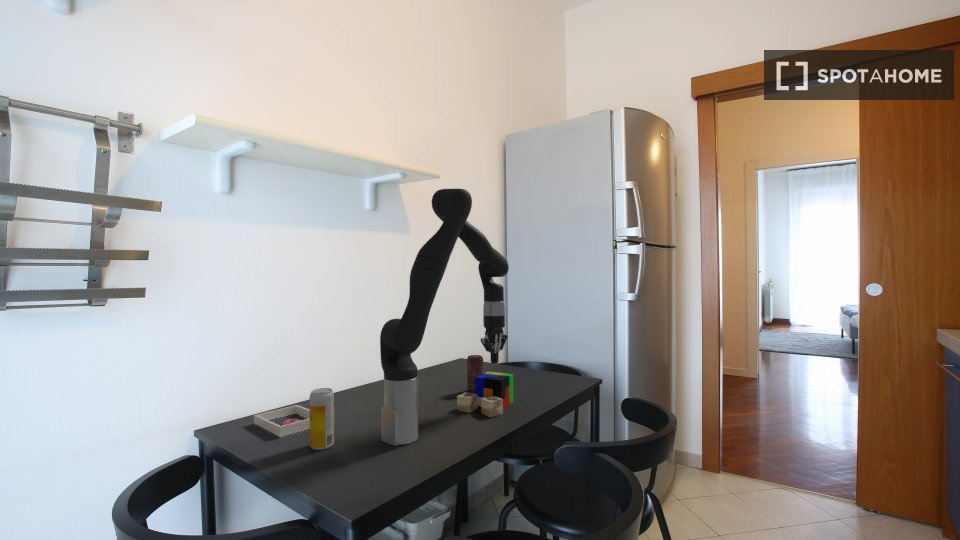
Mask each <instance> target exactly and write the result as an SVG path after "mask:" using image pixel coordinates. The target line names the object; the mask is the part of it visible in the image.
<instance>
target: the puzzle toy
mask: <svg viewBox="0 0 960 540" xmlns="http://www.w3.org/2000/svg"><path fill="white" fill-rule="evenodd" d="M475 394H477V395H478V407H481V398H485V397H490V396H495V397H498V398H501V399H503V409H505V408H506V407H508V406H509V405H511V404H513V403H514V373H508V372H507V373H504V372H495V371H485V372H483V374H481V375H479V376H477V377H475Z"/></svg>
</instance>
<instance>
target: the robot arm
mask: <svg viewBox="0 0 960 540" xmlns="http://www.w3.org/2000/svg"><path fill="white" fill-rule="evenodd" d="M472 205H473V198H472V195H471V193H470V191H469V190H468V189H465V188H441V189H437V191H435V192H434V194H433V195H432V198H431V207H432V210H433V212H434V214H435V215H436V216H437V217H438V218H439V220H440V221H442V223H441V226H440V227H439V229H438V230H437V231H436V232H435V233H434V234H433V235H432V236H431V237H430V238H429V239H428V240H427V241H426V242H425V243H424V244H423V245H422V246H421V247H420V249H419V251H418V252H417V254H416V257H415V259H414V262H413V264H412V266H411V269H410V273H409V297H408V299H407V300H408V301H407V304H406V306H405V309H404V312H403V314H402V316H401V318H391V319H390V320H388V321H386V322H385V324H383V326H382V329H381V330H380V335H379V348H380V352H379V353H380V365H381V368H382V371H383V405H382V406H381V407H380V428H381V429H380V434H381V435H380V439H381V442H384V443H386V444H388V445H391V446H393V447H397V446H400V445H408V444H411V443H414V442H416V441H417V440H418V439H419V435H418V434H419V416H418V415H419V410H418V409H419V408H418V407H419V405H418V404H419V403H418V402H419V401H418V396H419V395H418V393H419V392H418V390H419V388H418V387H419V385H418V384H419V383H418V381H419V380H418V378H419V377H418V376H419V375H418V372H419V371H418V367H417V365H416V363H415V362H414V361H413V358H412V355H411V354H413V353H414V352H416V351H417V349H418V348H419V347H420V345H421V344H422V341H423V339H424V335H425V331H426V327H427V324H428V319H429V316H430V312H431V309H432V306H433V304H434V301H435V298H436V297H437V292H438V290H439V286H440V284H441V283H442V280H443V277H444V274H445V272H446V269H447V266H448V263H449V261H450V258H451V255H452V253H453V250H454V248H455V245H456V243H457V240H458V239H460V240H461V242H462V243H463V244H464V246H465V247H466V248H467V249H468V251H469V252H470V253H471V255H472V256H473V257H474V259H475V261H477V262H479V263H478V267H477V269H478V273H479V278H480V281H481V284H482V288H483V305H482V306H483V307H482V309H483V312H482V313H483V317H482V318H483V327H484V328H485V332H484V337H481V338H480V343H481V344H482V346H483V348H484V350H485V351H486V352H489V355H490V362H491V364H494V365H496V364H499V357H500V356H499V353H500V352H501V351H502V350H504V347H505V344H506V343H507V339H508V338H509V337H508V335H507V334H505V333H504V329H503V328H505V327H506V317H505V316H506V314H505V313H506V311H505V310H506V309H505V298H504V296H505V295H504V293H505V292H504V291H505V289H504V286H503V285H502V284H500V283H496V282H495V281H494V279H493V278H503V277H506V275H507V274H508V272H509V270H510V269H509V268H510V266H509V262H508V260H507V259H506V257H505V256H504V255H503V254H502V253H501V252H499V251H498V250H497V249H496V248H495V247H493V246H492V244H491V242H489V240H488V238H487V237H486V236H485V234H484V233H483V232H482V231H481V230H480V229H478V228H477V227H475V226H474V225H473V224H471V223H470V222H469V221H468V218H469V215H470V213H471V210H472Z"/></svg>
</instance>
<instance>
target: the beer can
mask: <svg viewBox="0 0 960 540" xmlns="http://www.w3.org/2000/svg"><path fill="white" fill-rule="evenodd" d="M334 393H335V392H333V389H332V388H329V387H322V388H317V389H316V388H315V389H312V390H311V392H310V394H309V409H310V430H309V447H310V448H311V449H312V450H314V451H324V450H327V449H329V448H331V447H332V446H333V445H334V444H335V395H334Z"/></svg>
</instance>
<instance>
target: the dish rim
mask: <svg viewBox="0 0 960 540" xmlns="http://www.w3.org/2000/svg"><path fill="white" fill-rule="evenodd" d="M293 414H298V415H300V416H299V417H301V416H302V417H301V418H303V417H304V418H303V419H300V420H301V421H298V422H294V423H290V424H287V425H282V426H280V425H279V424H277V423H276V422H275V421H269V420H271V419H275V418H280V417H284V416H288V415H292V416H294V415H293ZM298 415H297V416H298ZM288 417H289V416H288ZM284 418H285V417H284ZM305 418H307V419H305ZM254 423H255V424H257V425H259V426H261V427H262V428H264V429H266V430H268V431H270V432H272V433H274V434H275V435H277V436H279V437H282V436H286V435H289V434H293V433H297V432H300V433H302V432H301V431H303V432H305V431H304V430H307V431H309V430H308V429H310V408H307V407H304V406H301V405H298V404H294V405H290V406H287V407H282V408H278V409H274V410H271V411H266V412H262V413H257V414H254V415H253V424H254ZM297 434H298V433H297ZM293 435H294V434H293Z"/></svg>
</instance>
